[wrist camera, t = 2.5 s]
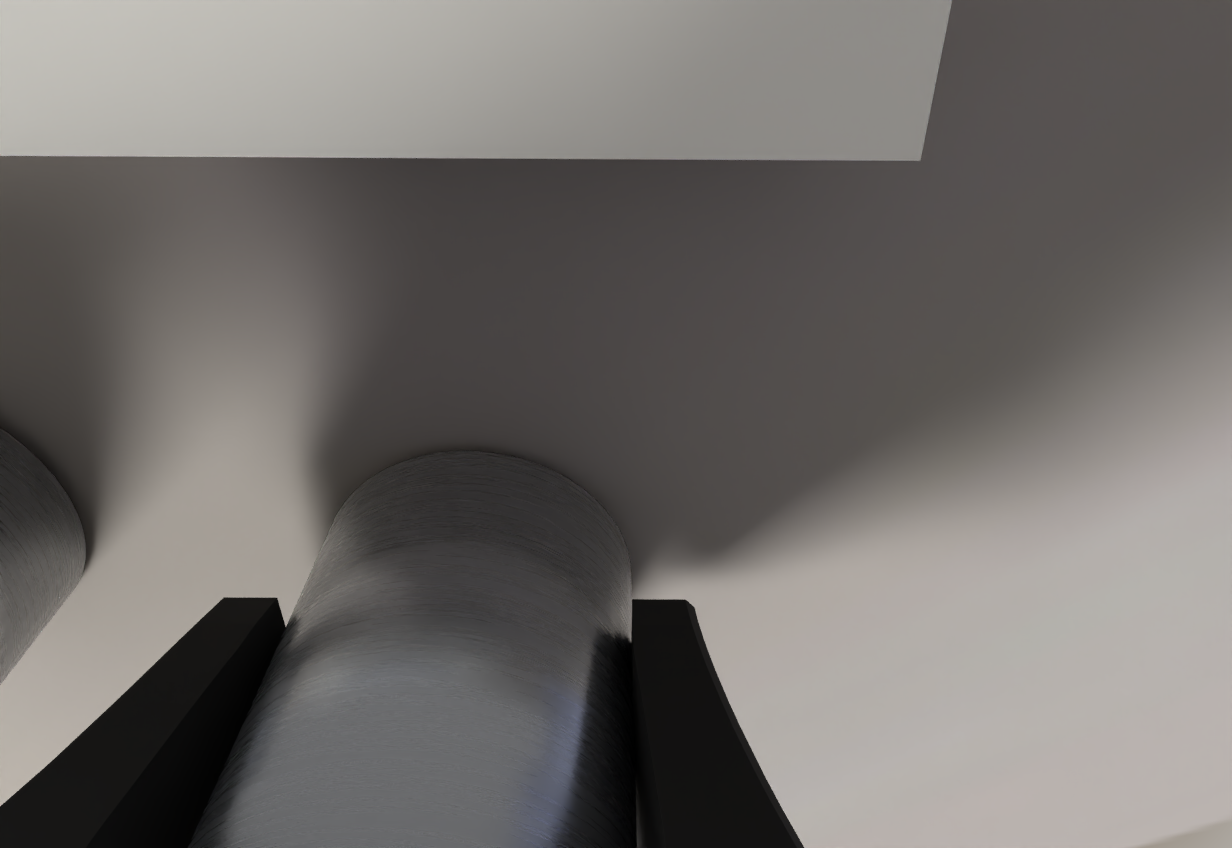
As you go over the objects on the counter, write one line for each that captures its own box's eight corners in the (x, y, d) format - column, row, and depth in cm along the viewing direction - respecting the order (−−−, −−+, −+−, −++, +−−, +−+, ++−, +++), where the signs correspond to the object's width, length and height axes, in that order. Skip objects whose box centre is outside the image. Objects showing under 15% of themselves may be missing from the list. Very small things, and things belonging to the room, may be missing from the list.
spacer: (633, 451, 10) (646, 861, 6) (629, 679, 12) (636, 1097, 8) (299, 449, 10) (69, 858, 6) (353, 677, 12) (214, 1095, 8)
